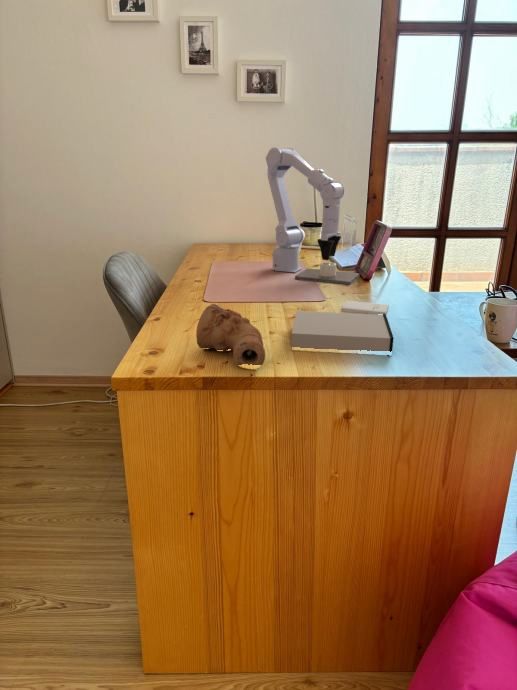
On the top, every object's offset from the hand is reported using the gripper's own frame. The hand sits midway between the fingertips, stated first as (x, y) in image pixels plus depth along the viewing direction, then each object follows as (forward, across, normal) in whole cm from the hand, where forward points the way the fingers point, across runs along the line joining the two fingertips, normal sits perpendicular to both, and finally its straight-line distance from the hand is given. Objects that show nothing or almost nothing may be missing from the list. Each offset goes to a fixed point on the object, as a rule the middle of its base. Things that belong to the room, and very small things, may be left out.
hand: (328, 258), depth 180 cm
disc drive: (+8, -62, -21) cm, 66 cm away
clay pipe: (+7, -82, 0) cm, 82 cm away
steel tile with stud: (+7, 0, 0) cm, 7 cm away
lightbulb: (+8, +40, +25) cm, 48 cm away
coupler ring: (+6, 0, 0) cm, 6 cm away
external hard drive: (+8, -34, -21) cm, 41 cm away
